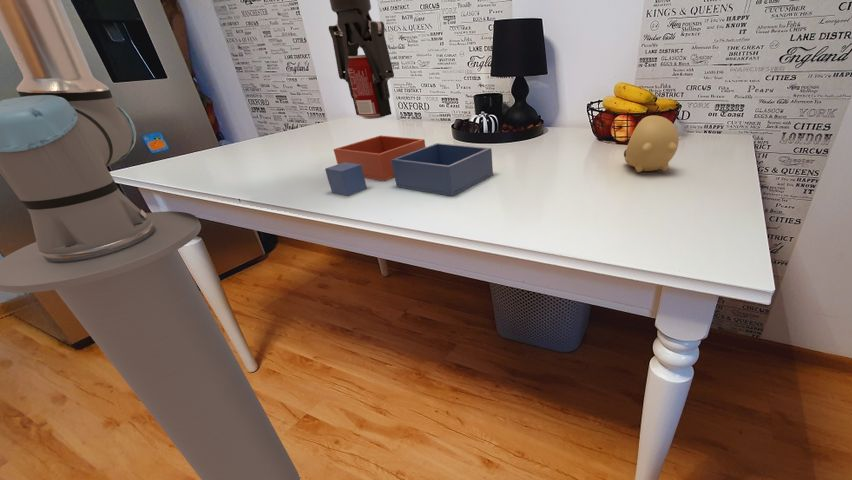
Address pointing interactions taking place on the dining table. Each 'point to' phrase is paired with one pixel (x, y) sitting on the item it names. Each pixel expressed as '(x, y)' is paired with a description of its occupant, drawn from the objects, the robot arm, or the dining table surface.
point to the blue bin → (443, 168)
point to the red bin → (377, 154)
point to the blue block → (346, 178)
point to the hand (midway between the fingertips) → (373, 114)
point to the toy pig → (652, 144)
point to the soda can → (363, 87)
